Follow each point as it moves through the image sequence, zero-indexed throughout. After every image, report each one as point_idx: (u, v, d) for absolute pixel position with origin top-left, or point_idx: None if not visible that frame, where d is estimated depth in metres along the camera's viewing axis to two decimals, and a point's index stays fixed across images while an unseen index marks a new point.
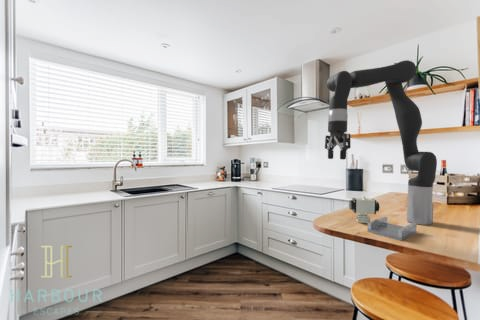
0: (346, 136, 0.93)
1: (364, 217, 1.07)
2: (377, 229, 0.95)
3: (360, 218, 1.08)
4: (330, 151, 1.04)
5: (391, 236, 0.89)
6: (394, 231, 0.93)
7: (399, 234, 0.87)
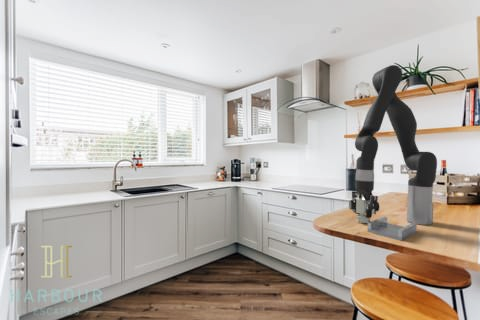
0: (374, 199, 1.02)
1: (364, 217, 1.07)
2: (377, 229, 0.95)
3: (360, 218, 1.08)
4: None
5: (391, 236, 0.89)
6: (394, 231, 0.93)
7: (399, 234, 0.87)
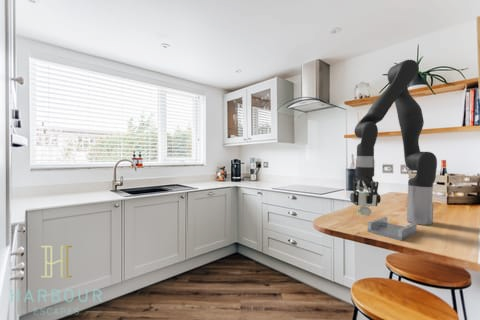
0: (374, 185, 1.02)
1: (365, 209, 1.07)
2: (377, 229, 0.95)
3: (362, 210, 1.08)
4: None
5: (391, 236, 0.89)
6: (394, 231, 0.93)
7: (399, 234, 0.87)
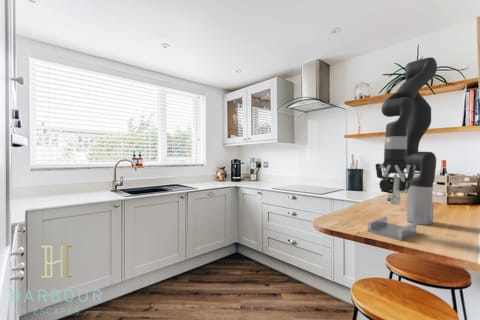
0: (413, 168, 0.90)
1: (397, 198, 0.94)
2: (377, 229, 0.95)
3: (393, 199, 0.94)
4: None
5: (391, 236, 0.89)
6: (394, 231, 0.93)
7: (399, 234, 0.87)
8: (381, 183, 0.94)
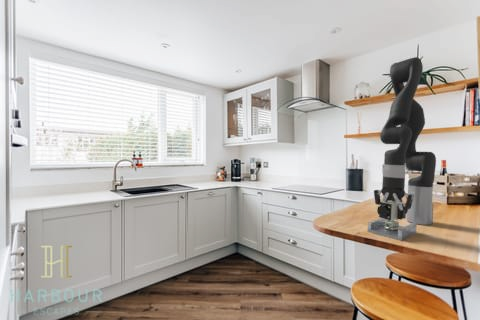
0: (411, 198, 0.90)
1: (395, 223, 0.94)
2: (377, 229, 0.95)
3: (392, 225, 0.94)
4: None
5: (391, 236, 0.89)
6: (394, 231, 0.93)
7: (399, 234, 0.87)
8: (379, 209, 0.95)
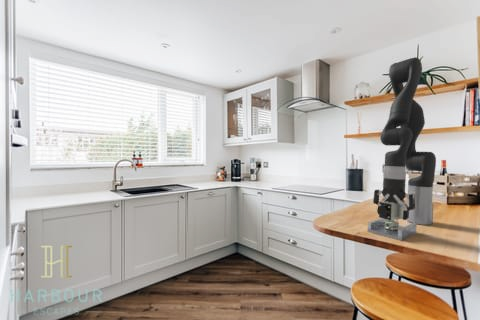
0: (413, 197, 0.90)
1: (395, 223, 0.94)
2: (377, 229, 0.95)
3: (392, 225, 0.94)
4: None
5: (391, 236, 0.89)
6: (394, 231, 0.93)
7: (399, 234, 0.87)
8: (379, 209, 0.95)
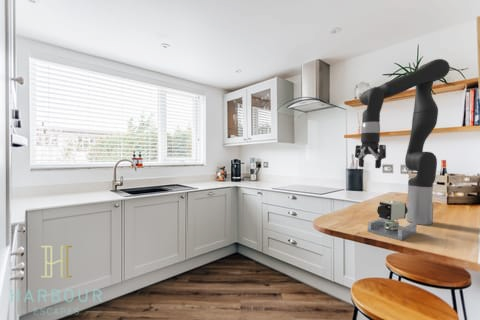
0: (382, 147, 1.02)
1: (395, 223, 0.94)
2: (377, 229, 0.95)
3: (392, 225, 0.94)
4: (361, 160, 1.13)
5: (391, 236, 0.89)
6: (394, 231, 0.93)
7: (399, 234, 0.87)
8: (379, 209, 0.95)
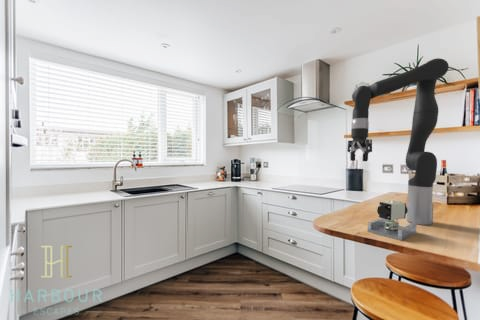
0: (368, 141, 1.10)
1: (395, 223, 0.94)
2: (377, 229, 0.95)
3: (392, 225, 0.94)
4: (352, 154, 1.20)
5: (391, 236, 0.89)
6: (394, 231, 0.93)
7: (399, 234, 0.87)
8: (379, 209, 0.95)
